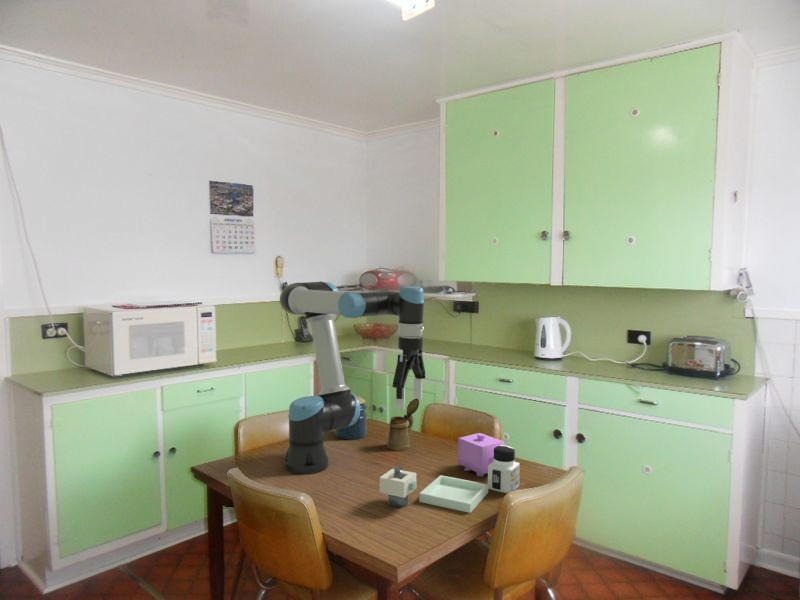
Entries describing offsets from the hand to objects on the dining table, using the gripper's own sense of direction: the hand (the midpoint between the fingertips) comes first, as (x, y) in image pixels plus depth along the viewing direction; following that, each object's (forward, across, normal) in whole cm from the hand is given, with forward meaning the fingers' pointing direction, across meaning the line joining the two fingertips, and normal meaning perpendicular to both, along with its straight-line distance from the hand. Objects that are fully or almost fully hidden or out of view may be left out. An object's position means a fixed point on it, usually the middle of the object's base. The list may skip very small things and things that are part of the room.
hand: (409, 403), depth 180 cm
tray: (+26, -2, -16) cm, 31 cm away
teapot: (+27, +22, -19) cm, 39 cm away
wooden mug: (+28, +35, +17) cm, 48 cm away
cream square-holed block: (+22, -13, -3) cm, 26 cm away
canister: (+28, +38, +42) cm, 63 cm away
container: (+26, +12, -28) cm, 40 cm away
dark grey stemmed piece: (+26, -13, -3) cm, 30 cm away
